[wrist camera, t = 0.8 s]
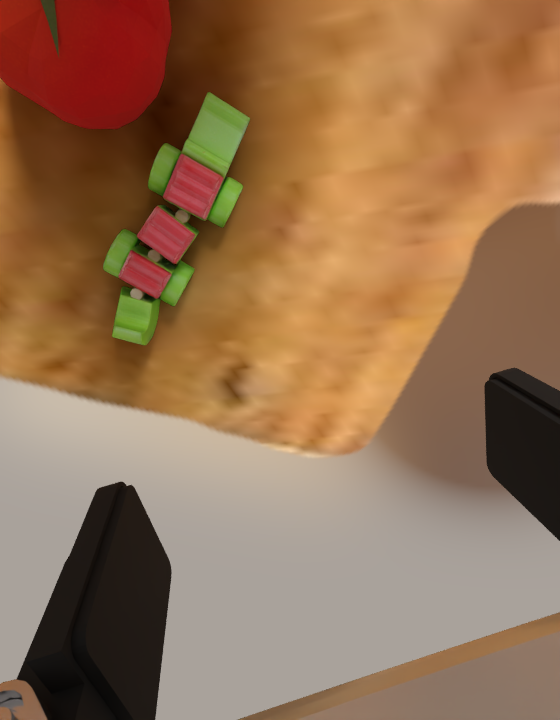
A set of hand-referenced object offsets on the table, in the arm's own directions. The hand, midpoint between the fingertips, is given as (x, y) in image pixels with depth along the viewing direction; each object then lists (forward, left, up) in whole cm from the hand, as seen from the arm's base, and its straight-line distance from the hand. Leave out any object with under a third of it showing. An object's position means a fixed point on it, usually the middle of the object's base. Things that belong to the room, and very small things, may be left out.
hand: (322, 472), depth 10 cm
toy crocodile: (-6, -5, -29) cm, 30 cm away
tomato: (-19, -6, -28) cm, 35 cm away
